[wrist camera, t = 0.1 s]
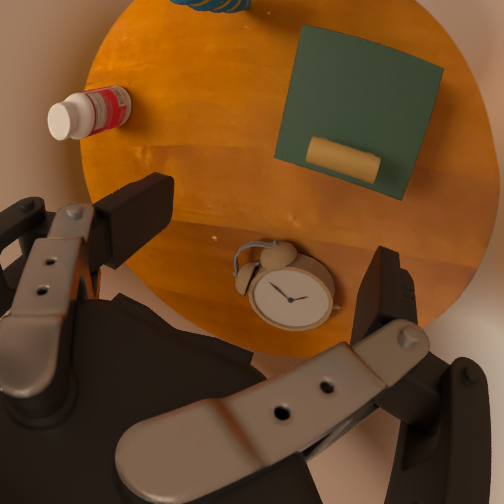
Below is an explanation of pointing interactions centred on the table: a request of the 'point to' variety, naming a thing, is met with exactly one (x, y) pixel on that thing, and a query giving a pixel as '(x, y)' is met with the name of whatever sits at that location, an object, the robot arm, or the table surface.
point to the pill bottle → (89, 113)
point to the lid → (357, 110)
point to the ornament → (216, 5)
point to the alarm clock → (286, 287)
